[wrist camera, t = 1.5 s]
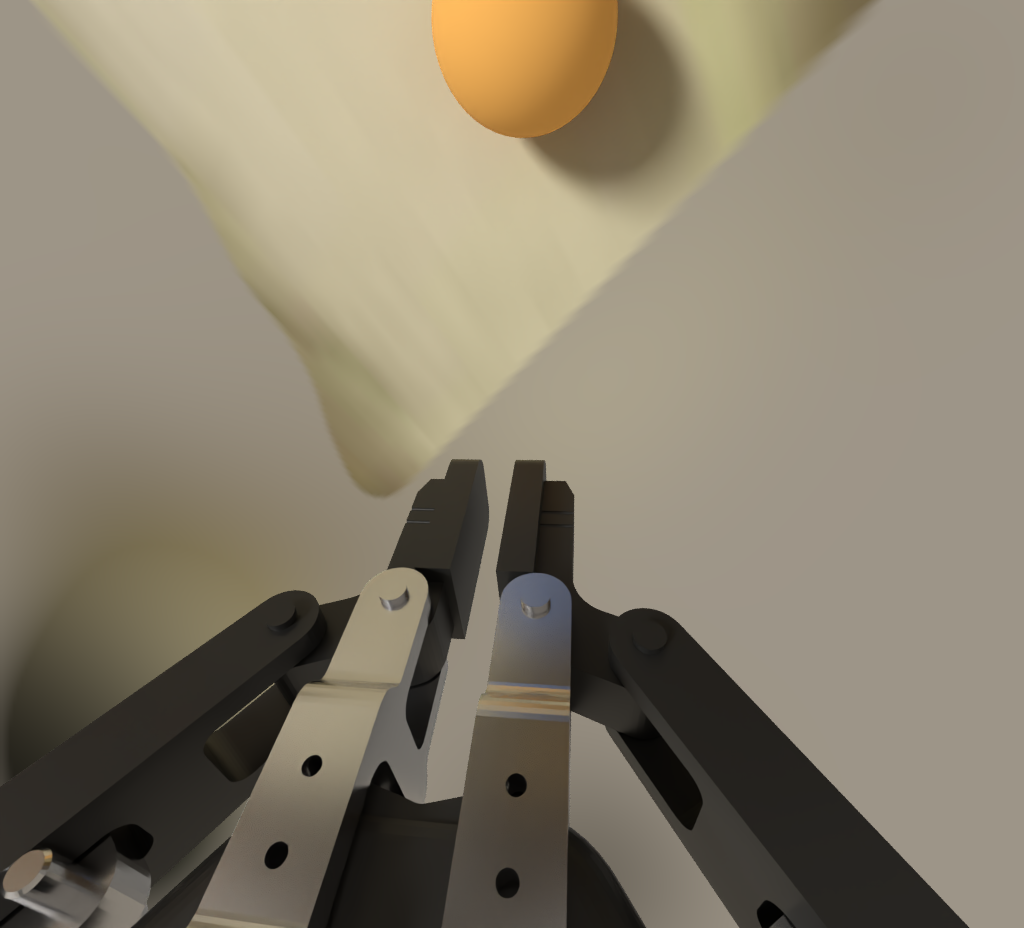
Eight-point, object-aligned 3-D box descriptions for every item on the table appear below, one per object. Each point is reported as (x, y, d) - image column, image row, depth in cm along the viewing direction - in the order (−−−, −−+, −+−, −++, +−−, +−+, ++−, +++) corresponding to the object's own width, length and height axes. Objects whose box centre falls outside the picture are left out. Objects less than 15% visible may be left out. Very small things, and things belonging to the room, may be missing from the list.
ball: (441, -70, 18) (388, -124, 13) (617, -93, 17) (631, -158, 12) (463, 135, 21) (428, 153, 16) (609, 124, 20) (617, 140, 16)
